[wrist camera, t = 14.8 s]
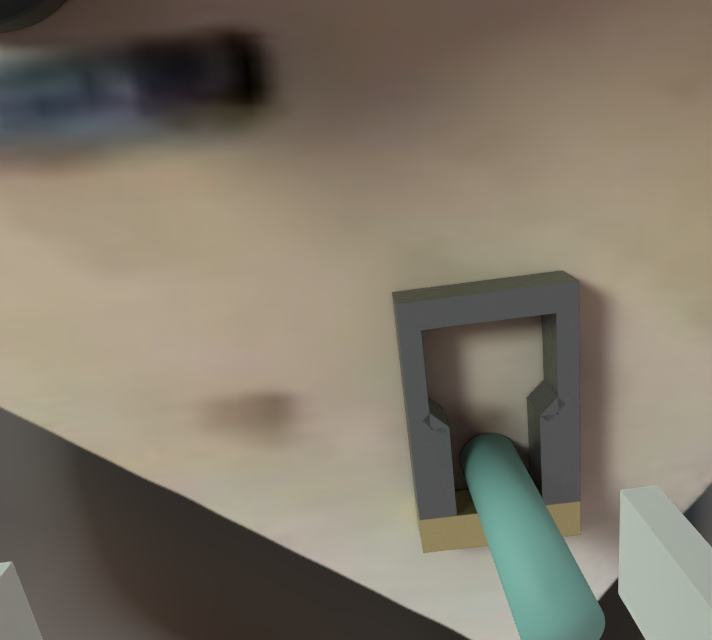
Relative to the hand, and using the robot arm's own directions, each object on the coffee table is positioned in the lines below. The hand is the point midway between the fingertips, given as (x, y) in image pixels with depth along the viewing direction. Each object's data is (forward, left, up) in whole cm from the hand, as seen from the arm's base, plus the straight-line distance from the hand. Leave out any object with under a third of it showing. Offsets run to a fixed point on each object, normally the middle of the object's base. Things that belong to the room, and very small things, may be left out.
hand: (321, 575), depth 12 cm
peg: (+16, +10, -29) cm, 34 cm away
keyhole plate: (+12, +10, -29) cm, 33 cm away
